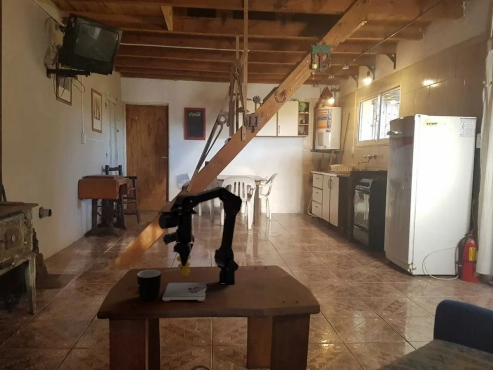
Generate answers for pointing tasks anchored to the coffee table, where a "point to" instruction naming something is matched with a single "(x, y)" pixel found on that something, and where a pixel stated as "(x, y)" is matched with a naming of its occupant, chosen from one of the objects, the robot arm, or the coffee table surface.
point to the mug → (149, 284)
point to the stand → (184, 292)
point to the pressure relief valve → (183, 267)
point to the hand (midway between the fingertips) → (184, 263)
